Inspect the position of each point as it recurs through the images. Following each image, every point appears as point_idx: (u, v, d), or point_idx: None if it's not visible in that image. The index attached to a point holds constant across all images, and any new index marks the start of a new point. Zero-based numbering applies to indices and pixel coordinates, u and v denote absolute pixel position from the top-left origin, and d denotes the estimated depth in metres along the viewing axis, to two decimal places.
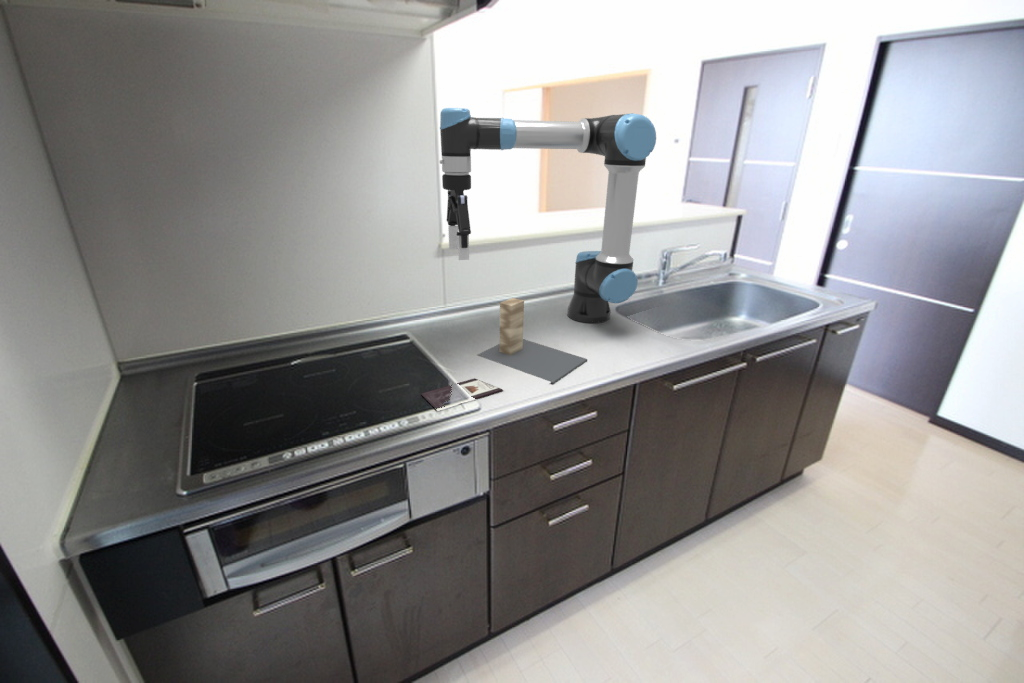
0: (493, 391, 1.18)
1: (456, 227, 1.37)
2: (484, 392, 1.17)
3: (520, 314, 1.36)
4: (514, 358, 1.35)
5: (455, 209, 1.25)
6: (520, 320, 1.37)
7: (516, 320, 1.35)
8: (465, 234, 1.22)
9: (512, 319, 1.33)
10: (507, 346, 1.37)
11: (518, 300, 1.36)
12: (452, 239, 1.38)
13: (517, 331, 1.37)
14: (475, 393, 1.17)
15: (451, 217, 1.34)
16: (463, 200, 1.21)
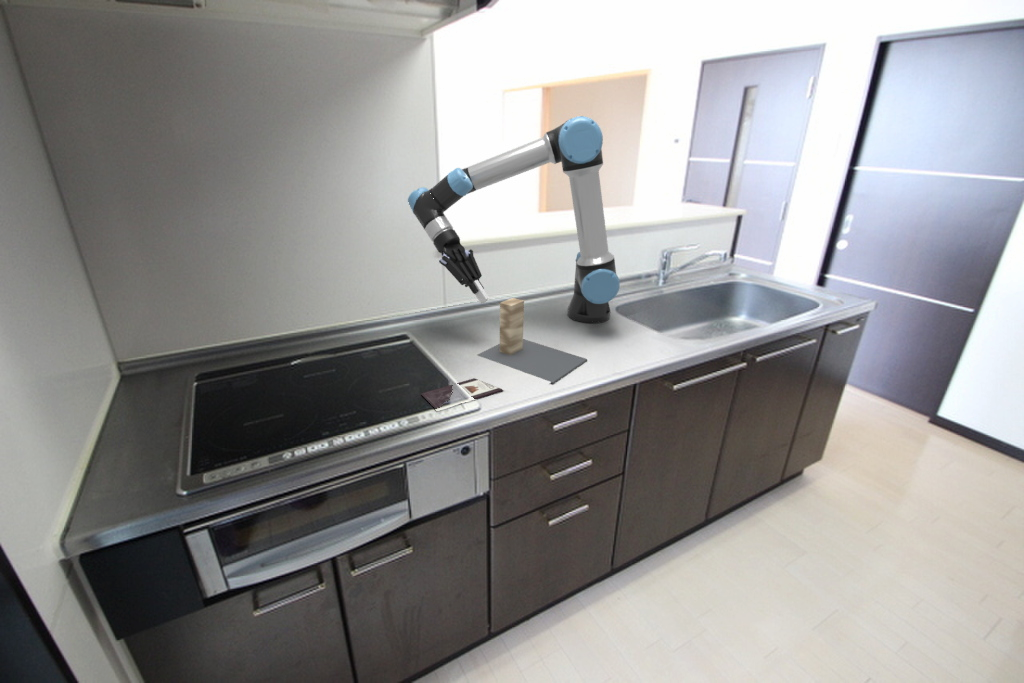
0: (493, 391, 1.18)
1: None
2: (484, 392, 1.17)
3: (520, 314, 1.36)
4: (514, 358, 1.35)
5: None
6: (520, 320, 1.37)
7: (516, 320, 1.35)
8: (465, 283, 1.39)
9: (512, 319, 1.33)
10: (507, 346, 1.37)
11: (518, 300, 1.36)
12: None
13: (517, 331, 1.37)
14: (475, 393, 1.17)
15: None
16: (444, 261, 1.37)
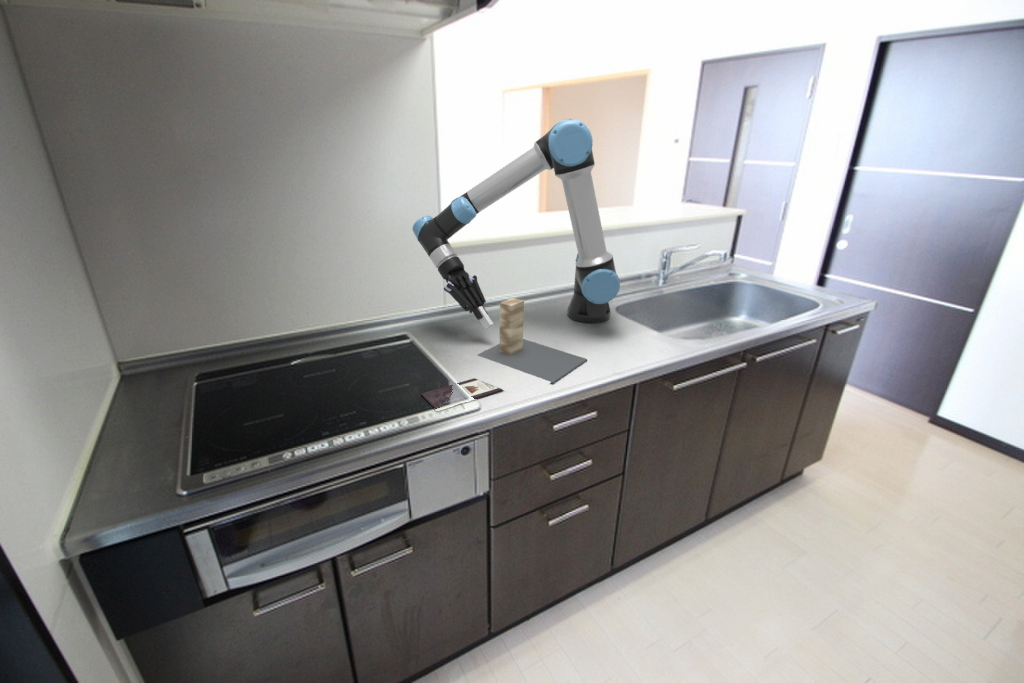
0: (493, 391, 1.18)
1: None
2: (484, 392, 1.17)
3: (520, 314, 1.36)
4: (514, 358, 1.35)
5: None
6: (520, 320, 1.37)
7: (516, 320, 1.35)
8: (470, 309, 1.41)
9: (512, 319, 1.33)
10: (507, 346, 1.37)
11: (518, 300, 1.36)
12: None
13: (517, 331, 1.37)
14: (475, 393, 1.17)
15: None
16: (449, 289, 1.40)
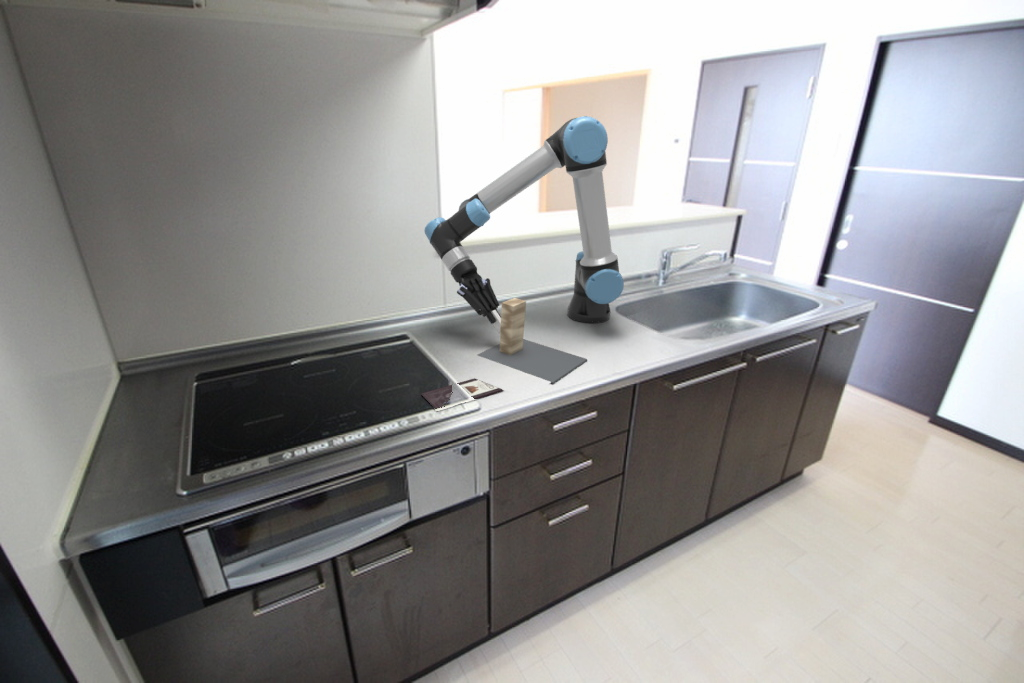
0: (493, 391, 1.18)
1: None
2: (484, 392, 1.17)
3: (522, 314, 1.36)
4: (514, 358, 1.35)
5: None
6: (521, 320, 1.37)
7: (517, 320, 1.35)
8: (483, 313, 1.39)
9: (513, 319, 1.33)
10: (507, 346, 1.37)
11: (520, 300, 1.35)
12: None
13: (518, 331, 1.37)
14: (475, 393, 1.17)
15: None
16: (462, 292, 1.37)
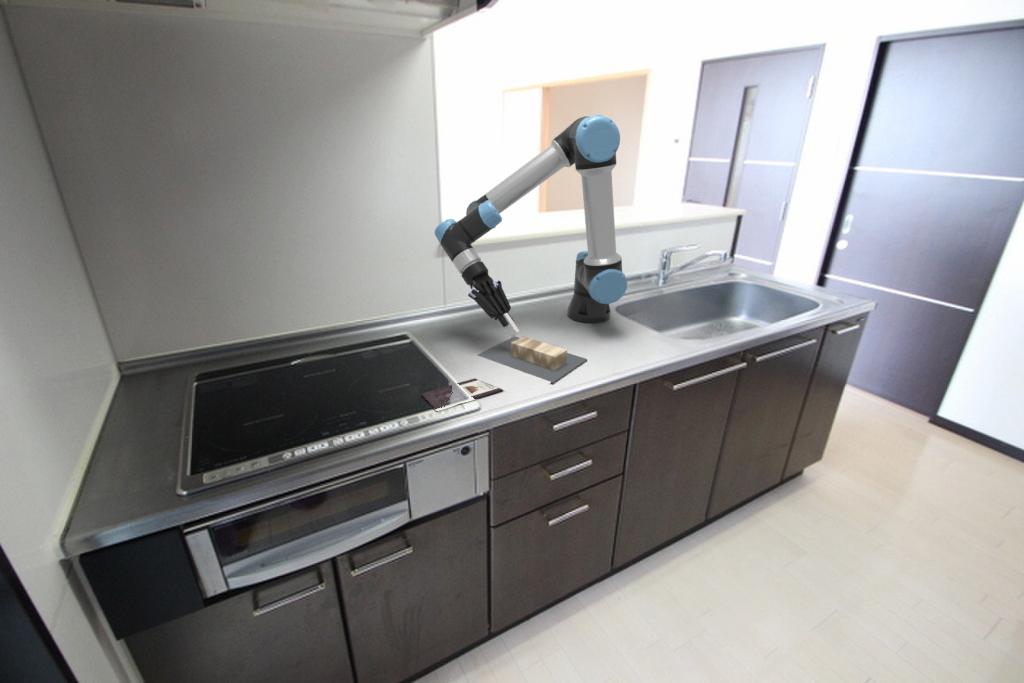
0: (493, 391, 1.18)
1: None
2: (484, 392, 1.17)
3: None
4: (514, 358, 1.35)
5: None
6: None
7: None
8: (495, 316, 1.36)
9: None
10: (517, 354, 1.35)
11: (564, 359, 1.32)
12: None
13: None
14: (474, 393, 1.17)
15: None
16: (473, 295, 1.35)
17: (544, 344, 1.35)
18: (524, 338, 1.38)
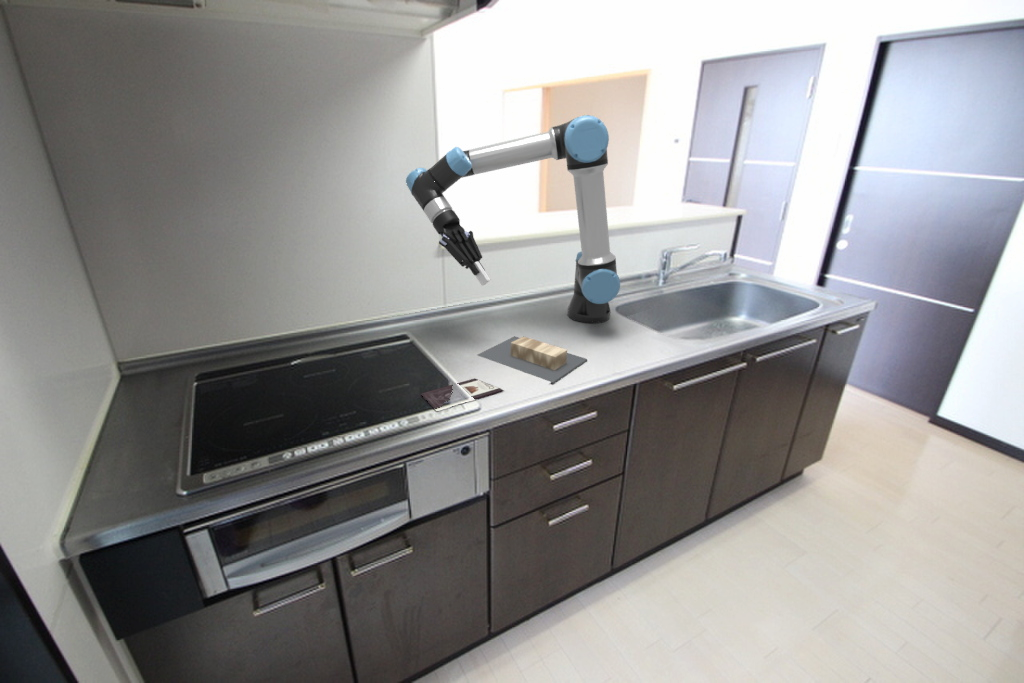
0: (493, 391, 1.18)
1: None
2: (484, 392, 1.17)
3: None
4: (514, 358, 1.35)
5: None
6: None
7: None
8: (466, 264, 1.36)
9: None
10: (517, 354, 1.35)
11: (564, 359, 1.32)
12: None
13: None
14: (474, 393, 1.17)
15: None
16: (444, 242, 1.35)
17: (544, 344, 1.35)
18: (524, 338, 1.38)
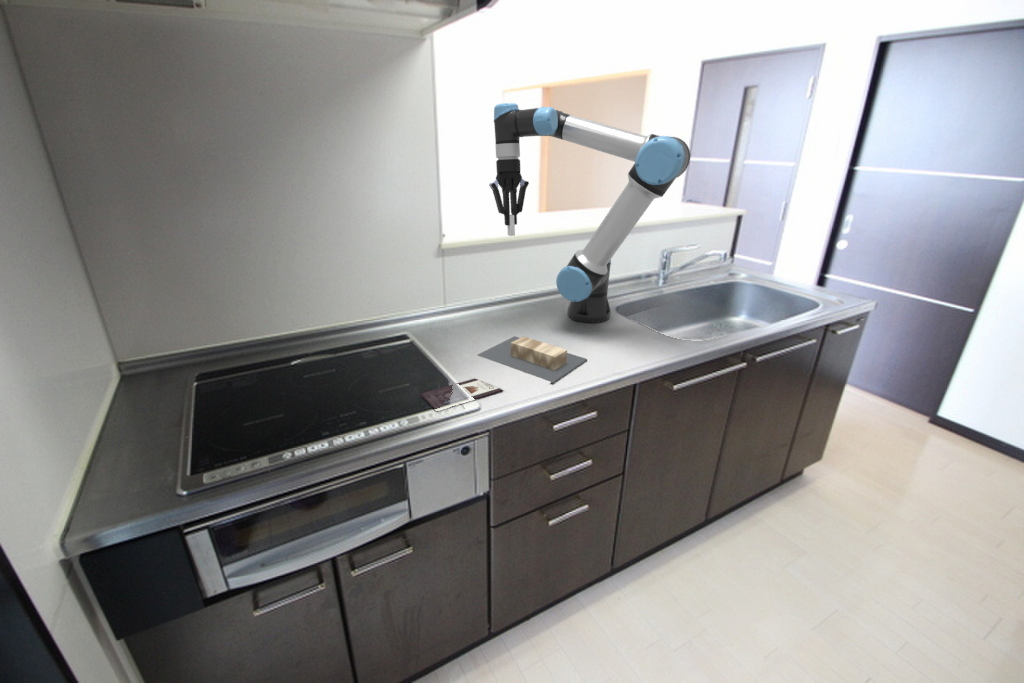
0: (493, 392, 1.18)
1: None
2: (484, 392, 1.17)
3: None
4: (514, 358, 1.35)
5: (502, 191, 1.53)
6: None
7: None
8: (502, 213, 1.54)
9: None
10: (517, 354, 1.35)
11: (564, 359, 1.32)
12: None
13: None
14: (474, 393, 1.17)
15: (511, 202, 1.54)
16: (492, 187, 1.50)
17: (544, 344, 1.35)
18: (524, 338, 1.38)
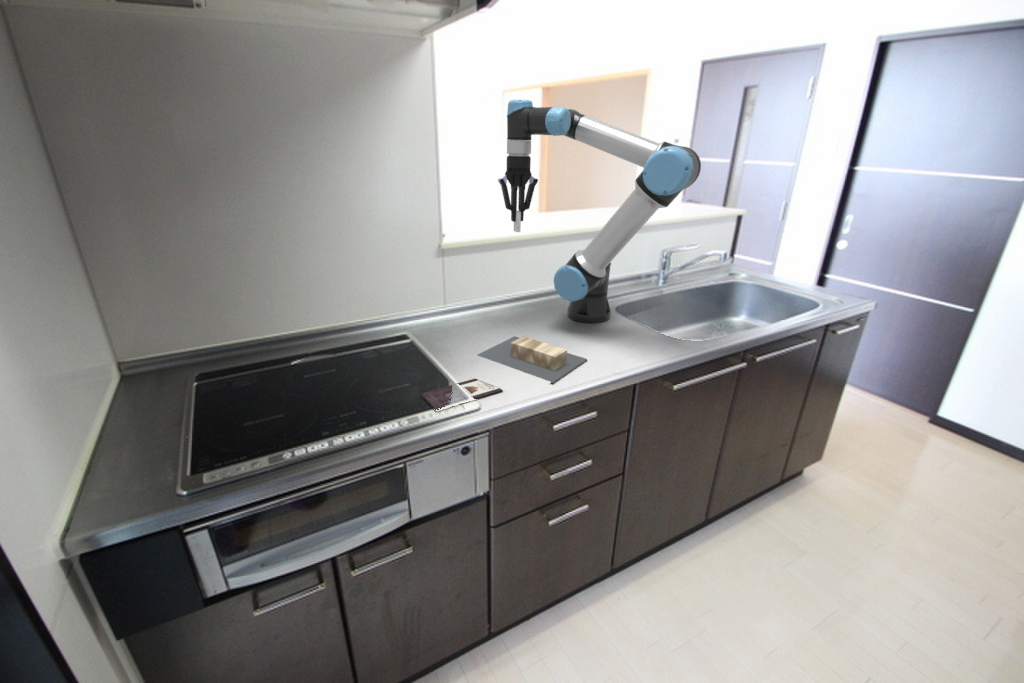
0: (493, 392, 1.18)
1: None
2: (484, 393, 1.17)
3: None
4: (514, 358, 1.35)
5: (511, 187, 1.53)
6: None
7: None
8: (509, 209, 1.55)
9: None
10: (517, 354, 1.35)
11: (564, 359, 1.32)
12: None
13: None
14: (474, 393, 1.17)
15: (519, 199, 1.55)
16: (500, 183, 1.50)
17: (544, 344, 1.35)
18: (524, 338, 1.38)
